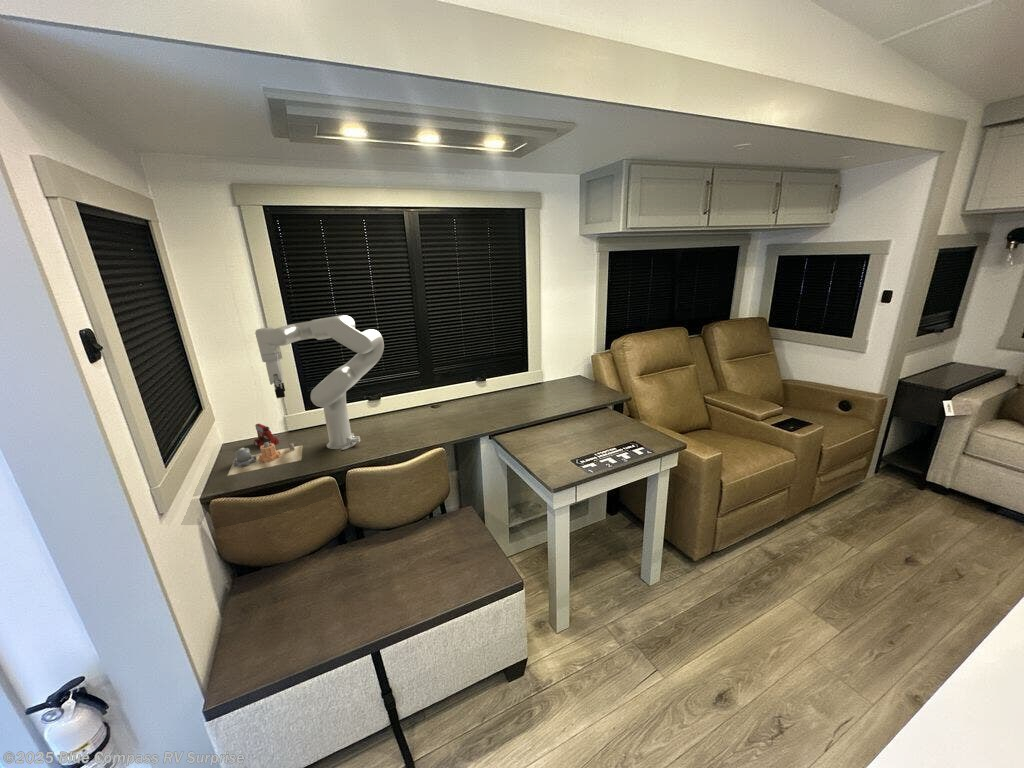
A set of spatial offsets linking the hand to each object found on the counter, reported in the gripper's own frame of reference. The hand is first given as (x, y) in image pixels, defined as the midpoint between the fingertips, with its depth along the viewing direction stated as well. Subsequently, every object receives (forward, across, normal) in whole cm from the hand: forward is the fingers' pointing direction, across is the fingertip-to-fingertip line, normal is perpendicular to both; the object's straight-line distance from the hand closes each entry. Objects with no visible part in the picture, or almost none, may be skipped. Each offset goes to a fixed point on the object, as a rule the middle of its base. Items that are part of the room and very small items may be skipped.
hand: (281, 394), depth 170 cm
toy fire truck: (+25, -7, -11) cm, 29 cm away
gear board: (+25, +11, -10) cm, 29 cm away
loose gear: (+24, +10, -9) cm, 28 cm away
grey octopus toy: (+24, +9, -18) cm, 31 cm away
